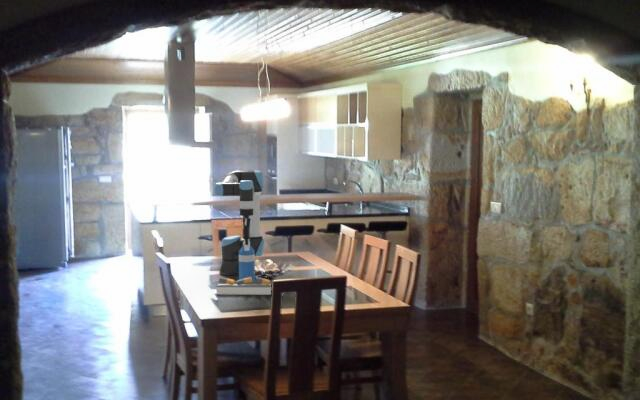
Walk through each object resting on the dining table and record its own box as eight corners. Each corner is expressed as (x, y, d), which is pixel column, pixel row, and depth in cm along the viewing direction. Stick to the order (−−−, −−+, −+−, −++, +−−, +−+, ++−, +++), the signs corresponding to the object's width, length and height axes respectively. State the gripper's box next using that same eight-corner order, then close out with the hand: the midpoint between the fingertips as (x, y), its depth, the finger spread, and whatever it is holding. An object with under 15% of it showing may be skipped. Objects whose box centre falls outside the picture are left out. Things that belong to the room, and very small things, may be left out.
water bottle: (240, 286, 399) (239, 243, 397) (237, 282, 408) (237, 241, 406) (256, 285, 402) (255, 243, 399) (253, 281, 411) (253, 240, 408)
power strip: (219, 290, 390) (219, 281, 390) (272, 290, 390) (272, 281, 390) (216, 294, 380) (216, 285, 380) (270, 294, 380) (270, 285, 380)
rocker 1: (220, 279, 387) (220, 276, 387) (233, 283, 387) (234, 280, 387) (218, 281, 382) (219, 278, 382) (232, 285, 382) (233, 281, 382)
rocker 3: (255, 279, 387) (256, 276, 387) (269, 283, 387) (270, 280, 387) (254, 281, 382) (255, 278, 382) (268, 285, 382) (269, 282, 382)
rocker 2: (238, 283, 387) (237, 280, 387) (252, 279, 387) (251, 276, 387) (237, 285, 382) (236, 281, 382) (251, 281, 382) (250, 278, 382)
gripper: (241, 207, 388) (241, 248, 391) (238, 209, 375) (238, 252, 378) (254, 207, 388) (254, 248, 391) (252, 209, 375) (252, 252, 378)
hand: (246, 250), depth 384 cm, fingers closed
